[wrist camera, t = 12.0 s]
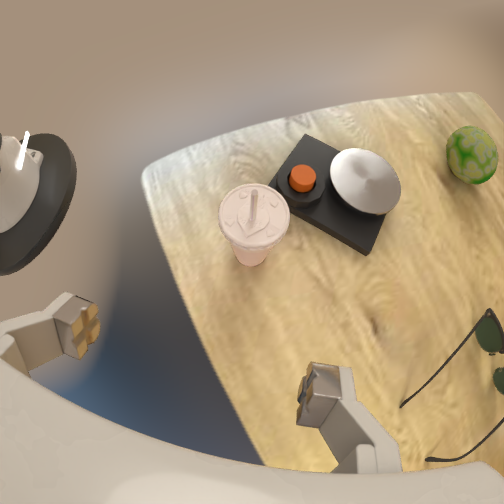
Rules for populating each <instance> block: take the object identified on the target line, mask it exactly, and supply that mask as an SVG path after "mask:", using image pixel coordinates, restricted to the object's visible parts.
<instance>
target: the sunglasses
mask: <svg viewBox="0 0 504 504" xmlns="http://www.w3.org/2000/svg"><path fill="white" fill-rule="evenodd" d="M474 331H475V335H476V338H477V341H478V343H479V345H480V347H481V348H482V349H483V350H484V351H486V352H489V355H491V356H492V355H495V354H493V353H496V352H499V353H501V354H504V332H503V329H502V327H501V324H500V322H499V320H498V318H497V317H496V315H495V313H494V312H493V311H492V309H491V308H489V309H487V310H486V312H485V313H484V315H483V316H482V317H481V319H480V320H479V321H478V322H477V324H476V325H475V326H474V328H473V329H472V330H471V332H470V333H469V334H468V335H467V337H466V338H465V339H464V340H463V342H462V343H461V344H460V345H459V347H458V348H457V349H456V350H455V351H454V352H453V354H452V355H451V356H450V357H449V358H448V359H447V360H446V362H445V363H444V364H443V365H442V366H441V367H440V368H439V370H438V371H437V372H436V373H435V374H434V375H433V376H432V377H431V378H430V379H429V380H428V381H427V382H426V383H425V384H424V385H423V386H422V387H421V388H420V389H419V390H418V391H417V392H415V393H414V394H413V395H412V396H410V397H409V398H408V399H406V400H405V401H404V402H403V403H402V405H401V406H400V408H402V407H403V406H404V405H405V404H406V403H407V402H408V401H409V400H411V399H412V398H413V397H414V396H415V395H416V394H417V393H419V392H420V391H421V390H422V389H423V388H424V387H425V386H426V385H427V384H428V383H429V382H430V381H431V380H432V379H433V378H434V377H435V376H436V375H437V374H438V373H439V372H440V371H441V370H442V369H443V368H444V366H445V365H446V364H447V363H448V362H449V361H450V360H451V359H452V357H453V356H454V355H455V354H456V353H457V352H458V351H459V349H460V348H461V347H462V346H463V345H464V343H465V342H466V341H467V340H468V338H469V337H470V336H471V335H472V333H473V332H474ZM493 382H494V384H495V387H496V388H497V390H498V391H499V392H500V393H501V394H503V395H504V367H501V368H497V369H496V370H495V372H494V373H493ZM503 422H504V418H503V419H502V420H501V421H500V422H499V423H498V424H497V425H496V427H495V428H494V429H493V430H492V431H491V432H490V433H489V434H488V435H487V436H486V437H485V438H484V439H483V440H482V441H481V442H479V443H478V444H477V445H476V446H475V447H474V448H473V449H472V450H470V451H469V452H467V453H466V454H464V455H463V456H461V457H458V458H454V459H441V458H435V457H428V458H426V459H425V461H427V462H452V461H457V460H459V459H462V458H464V457H465V456H467V455H468V454H470V453H471V452H472V451H474V450H475V449H476V448H477V447H479V446H480V445H481V444H482V443H483V442H484V441H485V440H486V439H487V438H488V437H489V436H490V435H491V434H492V433H493V432H494V431H495V430H496V429H497V428H498V427H499V426H500V425H501V424H502V423H503Z"/></svg>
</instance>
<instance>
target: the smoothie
mask: <svg viewBox="0 0 504 504" xmlns="http://www.w3.org/2000/svg"><path fill="white" fill-rule="evenodd" d="M218 220H219V227H220V229H221V232H222V234H223V235H224V236H225V238H226V239H227V240H228V241H229V242H230V244H231V246H232V249H233V251H234V253H235V256H236V258H237V259H238V261H239V262H240V263H242V264H243V265H245V266H256V265H259V264H260V263H262V262H263V261H264V259H265V258H266V256H267V255H268V253H269V252H270V250H271V249H272V247H273V246H274V245H275V244H277V243H278V242H280V241H281V239H282V238H283V237H284V236H285V234H286V232H287V229H288V227H289V220H290V212H289V207H288V205H287V203H286V201H285V199H284V198H283V197H282V195H281V194H280V193H278V192H277V191H276V190H274V189H273V188H271V187H269V186H266V185H262V184H254V183H253V184H245V185H241V186H238V187H236V188H234V189H233V190H231V191H230V192H229V193H228V194H227V195H226V196H225V197H224V198H223V200H222V202H221V204H220V207H219V212H218Z"/></svg>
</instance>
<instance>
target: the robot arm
mask: <svg viewBox="0 0 504 504" xmlns="http://www.w3.org/2000/svg"><path fill="white" fill-rule="evenodd" d="M28 138H29V133H28V132H26V134H25V138H24V141H23V145H21V143H20V142H19V141H18V140H17V139H16V138H15V137H14V136H13V137H10V136H2V135H1V134H0V233H3V232H5V231H7V230H9V229H10V228H12V227H13V226H14V225H15V224H16V223H17V222H18V221H19V220H20V219H21V218H22V217H23V216H24V214H25V213H26V212H27V210H28V209H29V207H30V205H31V203H32V201H33V199H34V197H35V195H36V192H37V189H38V185H39V177H40V176H39V171H40V166H41V164H42V161H43V157H44V156H43V154H42V153H41V152H40V151H36V150H32V149H28V148H26V146H27V142H28ZM97 313H98V307H97V305H96V304H95V303H93V302H90V301H88V300H85V299H83V298H81V297H78V296H75V295H73V294H70V293H68V292H64V293H62V294H61V295H60V296H59V297H58V298H57V299H56V300H54V301H53V302H52V303H51V304H50V305H49V306H48V307H47V308H45V309H44V310H43V311H42V312H40V311H37V312H33V313H30V314H26V315H23V316H19V317H15V318H12V319H8V320H5V321H1V322H0V504H504V477H503V476H501V475H500V474H499V473H498V472H497V471H496V470H495V469H494V468H492V467H491V466H490V465H489V464H487V463H486V462H484V461H474V462H469V463H465V464H460V465H455V466H449V467H442V468H436V469H428V470H420V471H409V472H403V470H402V464H401V458H400V452H399V446H398V443H397V442H396V441H395V440H394V439H393V438H392V437H391V435H390V434H389V433H388V432H387V431H386V430H385V429H384V428H383V426H382V425H381V424H380V423H379V422H378V421H377V420H376V419H375V417H374V416H373V415H372V414H371V413H370V412H369V411H368V410H367V408H366V407H365V406H364V405H363V404H362V403H361V402H358V401H357V398H356V391H355V385H354V378H353V372H352V369H351V367H343V366H335V365H329V364H322V363H316V362H310V363H309V365H308V367H307V375H306V376H304V377H303V378H302V380H301V383H300V386H299V390H298V398H297V401H298V402H299V404H300V405H299V407H298V409H297V420H296V425H300V426H306V427H313V428H319V431H320V433H321V435H322V436H323V438H324V440H325V441H326V443H327V445H328V446H329V448H330V450H331V451H332V453H333V455H334V456H335V458H336V460H337V461H338V463H339V465H338V466H337V467H336V468H335V469H334V470H333V471H332V472H331V473H322V472H309V471H298V470H289V469H281V468H274V467H267V466H261V465H255V464H249V463H244V462H239V461H234V460H230V459H224V458H221V457H216V456H212V455H208V454H204V453H200V452H197V451H193V450H190V449H186V448H183V447H180V446H176V445H173V444H170V443H167V442H164V441H161V440H158V439H155V438H152V437H150V436H147V435H144V434H141V433H139V432H136V431H134V430H131V429H129V428H126V427H124V426H121V425H119V424H117V423H114V422H112V421H110V420H107V419H105V418H103V417H101V416H98V415H96V414H94V413H92V412H90V411H88V410H86V409H84V408H82V407H80V406H78V405H76V404H74V403H72V402H70V401H68V400H67V399H65V398H63V397H61V396H59V395H57V394H56V393H54V392H52V391H50V390H49V389H47V388H45V387H43V386H42V385H40V384H38V383H37V382H35V381H34V380H32V379H31V376H30V374H29V372H28V371H30V370H32V369H34V368H36V367H38V366H40V365H42V364H44V363H46V362H48V361H50V360H52V359H54V358H56V357H58V356H60V355H63V353H64V354H66V355H68V356H71V357H73V358H75V359H78V360H81V358H82V357H83V356H84V355H85V353H86V352H87V351H88V345H89V344H92V343H94V342H95V341H96V339H97V338H98V335H99V333H100V321H99V319H98V318H97V316H96V315H97Z"/></svg>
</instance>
